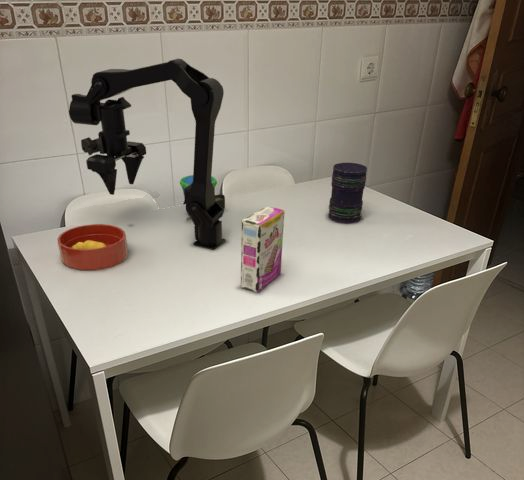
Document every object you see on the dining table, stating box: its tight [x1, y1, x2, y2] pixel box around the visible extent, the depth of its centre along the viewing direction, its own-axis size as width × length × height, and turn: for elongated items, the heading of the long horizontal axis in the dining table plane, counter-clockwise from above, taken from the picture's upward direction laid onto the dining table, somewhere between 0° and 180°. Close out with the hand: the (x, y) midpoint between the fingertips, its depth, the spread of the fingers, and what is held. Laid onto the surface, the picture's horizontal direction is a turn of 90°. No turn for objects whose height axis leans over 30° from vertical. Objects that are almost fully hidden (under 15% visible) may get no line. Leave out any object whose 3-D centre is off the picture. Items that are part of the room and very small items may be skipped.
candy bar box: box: [240, 205, 286, 293], centre depth 119 cm, size 11×5×16 cm, turn 150°
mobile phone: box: [186, 193, 226, 221], centre depth 157 cm, size 5×3×15 cm
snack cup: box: [179, 174, 218, 200], centre depth 156 cm, size 16×10×10 cm
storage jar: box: [328, 162, 368, 225], centre depth 155 cm, size 10×10×15 cm
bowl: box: [57, 223, 129, 272], centre depth 131 cm, size 16×16×6 cm
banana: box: [72, 240, 106, 249], centre depth 131 cm, size 12×4×3 cm, turn 69°
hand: (121, 189), depth 140 cm, fingers open, 9 cm apart
